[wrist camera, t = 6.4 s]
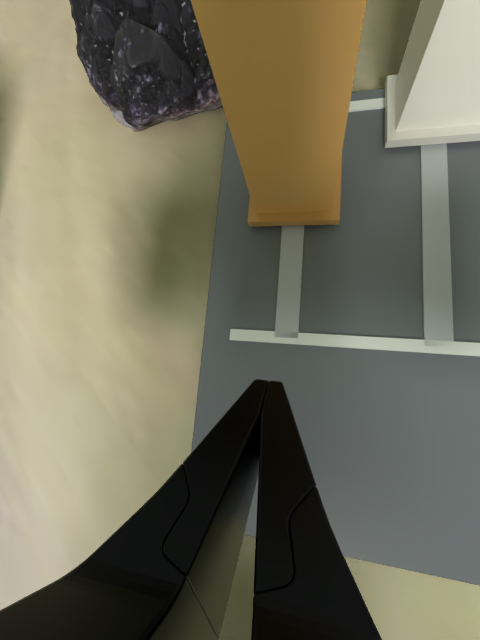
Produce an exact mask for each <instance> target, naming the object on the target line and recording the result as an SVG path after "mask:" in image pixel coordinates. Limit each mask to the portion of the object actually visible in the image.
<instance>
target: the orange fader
mask: <svg viewBox="0 0 480 640" xmlns="http://www.w3.org/2000/svg"><path fill="white" fill-rule="evenodd" d="M191 3H192V6H193V9H194V13H195V16H196V19H197V23H198V26H199V29H200V33H201V36H202V39H203V42H204V46H205V49H206V52H207V56H208V59H209V62H210V65H211V69H212V72H213V75H214V79H215V82H216V85H217V89H218V92H219V95H220V98H221V102H222V105H223V108H224V112H225V115H226V118H227V121H228V125H229V128H230V131H231V135H232V138H233V141H234V145H235V148H236V151H237V154H238V158H239V161H240V164H241V168H242V171H243V174H244V177H245V181H246V184H247V187H248V191H249V194H250V199H249V211H248V225H249V227H255V226H297V225H339V221H340V200H341V169H342V148H343V142H344V136H345V130H346V124H347V118H348V112H349V106H350V100H351V94H352V88H353V82H354V75H355V69H356V63H357V57H358V51H359V45H360V39H361V33H362V27H363V21H364V15H365V9H366V3H367V0H191Z"/></svg>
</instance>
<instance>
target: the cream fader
mask: <svg viewBox="0 0 480 640" xmlns="http://www.w3.org/2000/svg"><path fill="white" fill-rule="evenodd" d="M470 141H480V0H421V2H420V5H419V8H418V11H417V15H416V18H415V21H414V24H413V28H412V31H411V34H410V37H409V40H408V44H407V47H406V50H405V53H404V57H403V60H402V63H401V66H400V70H399V73H398V74H396V75H388V76H387V79H386V82H385V148H392V147H405V146H418V145H431V144H444V143H457V142H470Z"/></svg>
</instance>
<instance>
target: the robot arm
mask: <svg viewBox="0 0 480 640" xmlns="http://www.w3.org/2000/svg"><path fill="white" fill-rule="evenodd" d="M183 464H184V465H183ZM183 464H181V465H180V466H179V468H178V469H177V470H176V471H175V472H174V473H173V475H172V476H171V477H170V478H169V479H168V480H167V481H166V482H165V483H164V484H163V486H162V487H161V488H160V489H159V490H158V491H157V492H156V493H155V494H154V495H153V496H152V497H151V498H150V499H149V500H148V501H147V502H146V503H145V504H144V505H143V506H142V507H141V508H140V509H139V510H138V511H137V512H136V513H135V514H134V515H133V516H132V517H131V518H130V519H129V520H127V521H126V522H125V523H124V524H123V525H122V526H121V527H120V528H119V529H118V530H117V531H116V532H115V533H114V534H113V535H112V536H111V537H110V538H109V539H108V540H106V541H105V542H104V543H103V544H102V545H101V546H100V547H99V548H98V549H97V550H96V551H95V552H94V553H93V554H92V555H91V556H89V557H88V558H87V559H86V560H85V561H84V562H82V563H81V564H80V565H79V566H77V567H76V568H75V569H73V570H72V571H71V572H69V573H68V574H66V575H65V576H63V577H61V578H60V579H58V580H56V581H55V582H53V583H51V584H49V585H47V586H45V587H43V588H42V589H40V590H38V591H36V592H34V593H32V594H30V595H28V596H27V597H25V598H23V599H21V600H19V601H17V602H15V603H13V604H12V605H10V606H8V607H6V608H4V609H2V610H0V640H218V637H219V634H220V630H221V626H222V622H223V618H224V614H225V610H226V606H227V602H228V597H229V593H230V589H231V585H232V581H233V577H234V573H235V569H236V565H237V560H238V556H239V552H240V548H241V544H242V540H243V536H244V532H245V528H246V523H247V519H248V515H249V511H250V507H251V503H252V499H253V495H254V490H255V486H256V482H257V478H258V499H257V524H256V549H255V574H254V598H253V619H252V635H251V640H382V639H381V637H380V635H379V633H378V631H377V628H376V626H375V624H374V622H373V620H372V618H371V615H370V613H369V611H368V609H367V607H366V605H365V602H364V600H363V598H362V596H361V594H360V591H359V589H358V587H357V585H356V583H355V580H354V578H353V576H352V574H351V572H350V569H349V567H348V565H347V563H346V561H345V558H344V556H343V554H342V552H341V549H340V547H339V545H338V542H337V540H336V538H335V535H334V533H333V530H332V528H331V526H330V523H329V520H328V517H327V514H326V512H325V509H324V506H323V503H322V500H321V497H320V494H319V491H318V488H317V487H316V483H315V480H314V476H313V473H312V470H311V467H310V464H309V461H308V458H307V455H306V452H305V449H304V446H303V443H302V440H301V437H300V434H299V431H298V428H297V424H296V421H295V418H294V415H293V412H292V409H291V406H290V403H289V400H288V397H287V394H286V391H285V388H284V385H283V383H282V382H281V381H273V380H270V381H269V382H268V381H267V380H262V379H255V380H254V381H253V382H252V383H251V384H250V385H249V387H248V388H247V389H246V390H245V391H244V392H243V394H242V395H241V396H240V397H239V398H238V399H237V400H236V402H235V403H234V404H233V405H232V406H231V407H230V409H229V410H228V411H227V412H226V413H225V414H224V416H223V417H222V418H221V419H220V420H219V421H218V422H217V424H216V425H215V426H214V427H213V428H212V429H211V431H210V432H209V433H208V434H207V435H206V436H205V438H204V439H203V440H202V441H201V442H200V443H199V445H198V446H197V447H196V448H195V449H194V450H193V451H192V453H191V454H190V455H189V456H188V457H187V458H186V460H185V461H184V462H183Z"/></svg>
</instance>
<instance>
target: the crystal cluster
mask: <svg viewBox="0 0 480 640" xmlns="http://www.w3.org/2000/svg"><path fill="white" fill-rule="evenodd" d="M69 1H70V4H71V13H72V17H73V19H74V21H75V25H76V29H75V30H76V33H77V47H76V48H77V55H78V57H79V58H80V60H81V62H82V64H83V66H84V68H85V70H86V73H87V75H88V77H89V82H90V83H91V85H92V87H93V88H94V89H95V91H96V92H97V93H98V95H99V97H100V98H101V100H102V102H103V104H104V105H106V106H109V107H110V110H111V113H112V115H113V117H114V118H115V119H116V120H117V121H118V122H120V123H121V124H122V125H123V126H125V127H128V128H131V129H132V130H134V131H142V130H144V129H146V128H148V127H150V126H152V125H155V124H158V123H161V122H164V121H167V120H179V119H181V118H184V117H187V116H189V115H192V114H195V113H197V112H201V111H206V110H213V109H217V108H218V107H220V106H222V102H221V98H220V95H219V92H218V89H217V85H216V82H215V79H214V75H213V72H212V69H211V65H210V62H209V59H208V56H207V52H206V49H205V46H204V42H203V39H202V36H201V33H200V29H199V26H198V23H197V19H196V16H195V13H194V9H193V6H192V3H191V0H69Z"/></svg>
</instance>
